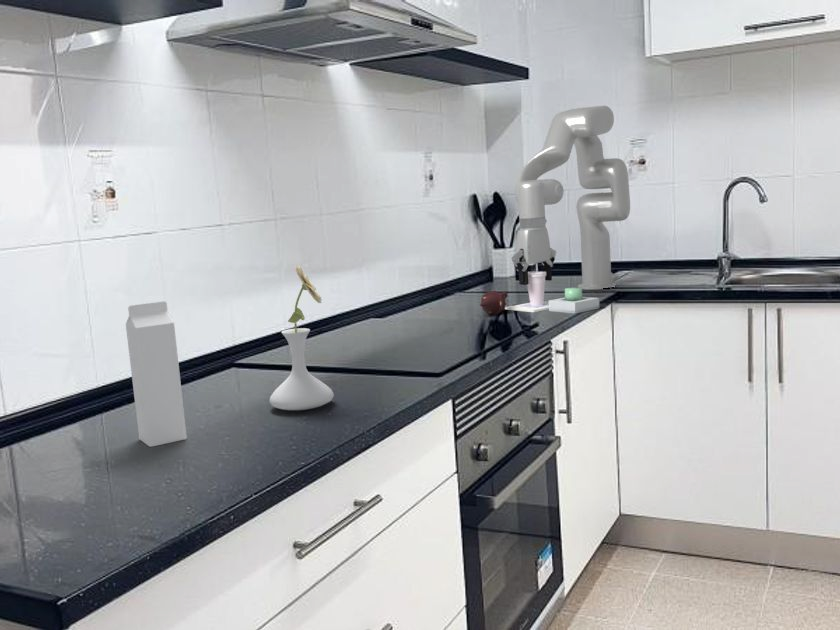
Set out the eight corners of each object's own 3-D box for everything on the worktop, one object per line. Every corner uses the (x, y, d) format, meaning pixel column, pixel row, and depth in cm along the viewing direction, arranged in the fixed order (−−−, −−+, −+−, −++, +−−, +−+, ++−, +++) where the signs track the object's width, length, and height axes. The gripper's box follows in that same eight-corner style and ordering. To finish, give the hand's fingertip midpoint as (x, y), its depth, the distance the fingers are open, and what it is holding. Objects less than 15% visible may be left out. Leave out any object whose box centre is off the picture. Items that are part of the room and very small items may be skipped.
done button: (573, 299, 244) (572, 287, 243) (585, 300, 240) (585, 287, 240) (561, 301, 241) (561, 289, 240) (574, 302, 237) (573, 290, 237)
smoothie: (541, 306, 246) (538, 258, 244) (521, 306, 250) (519, 258, 248) (551, 303, 251) (549, 256, 249) (532, 303, 255) (530, 256, 253)
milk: (139, 439, 136) (122, 304, 133) (176, 431, 140) (160, 299, 137) (149, 447, 131) (132, 307, 128) (188, 439, 135) (172, 302, 131)
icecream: (494, 296, 233) (518, 293, 246) (471, 289, 237) (496, 286, 250) (489, 320, 235) (513, 316, 247) (466, 313, 239) (491, 309, 251)
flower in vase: (320, 416, 143) (307, 269, 140) (259, 415, 146) (245, 271, 143) (347, 396, 156) (336, 261, 152) (290, 396, 159) (278, 264, 155)
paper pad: (538, 303, 259) (538, 300, 259) (567, 305, 249) (567, 303, 249) (505, 309, 250) (504, 307, 250) (534, 312, 241) (533, 309, 241)
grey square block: (572, 306, 248) (572, 296, 247) (599, 308, 240) (599, 298, 239) (548, 310, 242) (548, 300, 241) (575, 313, 234) (574, 302, 234)
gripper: (544, 221, 255) (547, 278, 257) (502, 227, 244) (505, 285, 247) (562, 221, 249) (565, 279, 251) (520, 227, 238) (523, 287, 241)
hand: (535, 282), depth 249 cm, fingers open, 9 cm apart
